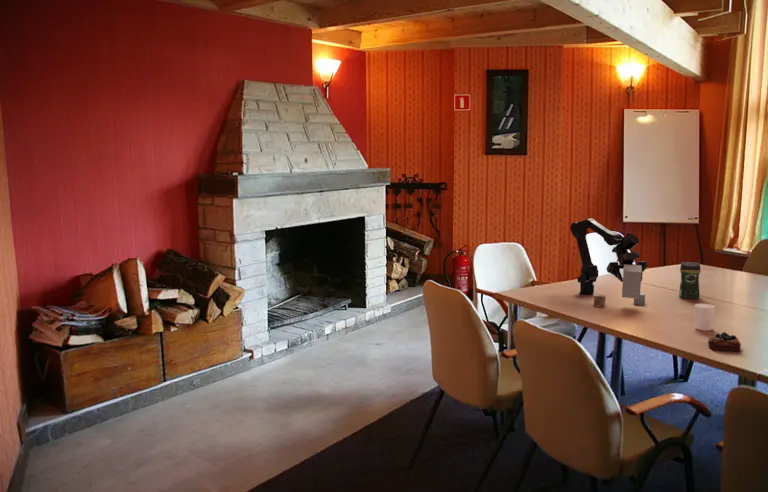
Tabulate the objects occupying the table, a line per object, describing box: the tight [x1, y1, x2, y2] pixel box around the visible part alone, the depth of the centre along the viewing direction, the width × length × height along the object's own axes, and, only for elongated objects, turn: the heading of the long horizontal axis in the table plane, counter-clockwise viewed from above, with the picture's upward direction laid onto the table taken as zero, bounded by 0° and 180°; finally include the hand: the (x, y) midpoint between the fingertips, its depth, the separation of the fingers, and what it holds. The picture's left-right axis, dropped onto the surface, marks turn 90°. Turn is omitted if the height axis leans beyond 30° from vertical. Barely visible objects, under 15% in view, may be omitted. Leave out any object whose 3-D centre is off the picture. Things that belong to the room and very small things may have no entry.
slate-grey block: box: [633, 292, 646, 306], centre depth 314 cm, size 5×5×5 cm
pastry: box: [707, 331, 742, 353], centre depth 242 cm, size 11×12×6 cm
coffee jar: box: [678, 261, 702, 300], centre depth 323 cm, size 10×8×19 cm
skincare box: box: [621, 264, 643, 299], centre depth 303 cm, size 8×7×16 cm
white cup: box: [693, 303, 716, 332], centre depth 267 cm, size 8×8×10 cm
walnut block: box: [593, 293, 606, 307], centre depth 312 cm, size 5×5×5 cm
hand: (631, 281), depth 304 cm, fingers closed on skincare box, 9 cm apart
